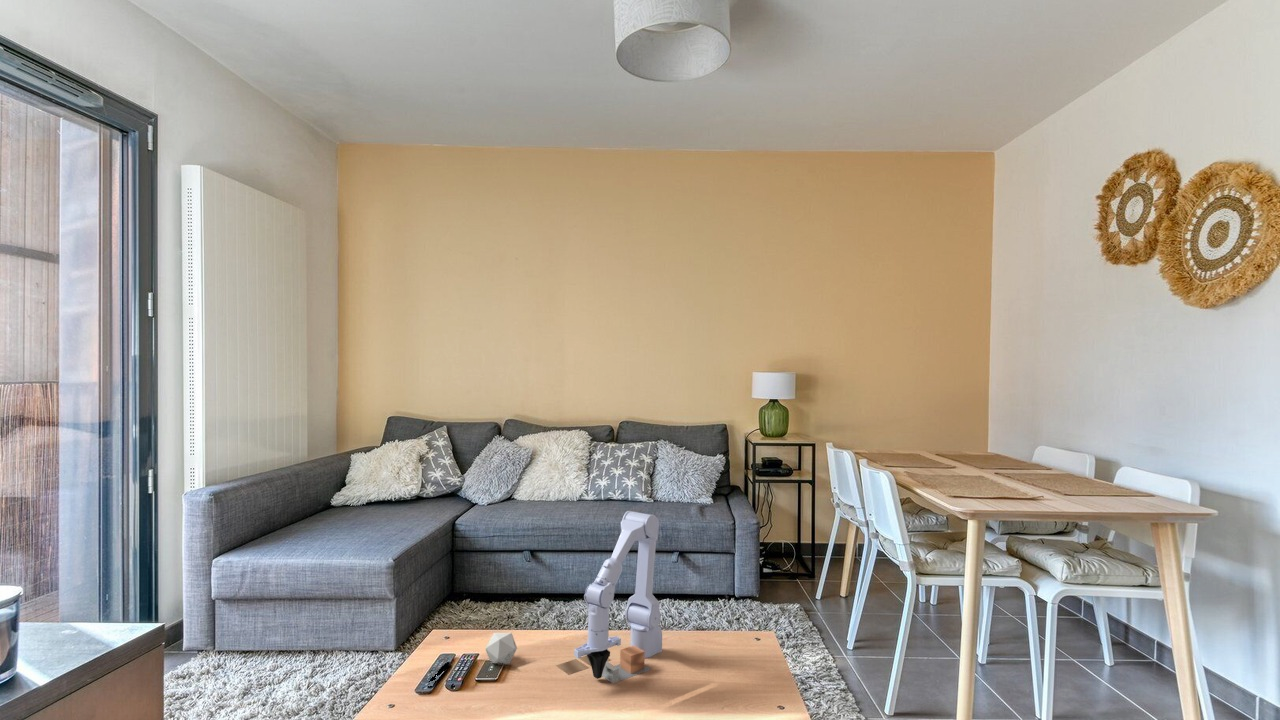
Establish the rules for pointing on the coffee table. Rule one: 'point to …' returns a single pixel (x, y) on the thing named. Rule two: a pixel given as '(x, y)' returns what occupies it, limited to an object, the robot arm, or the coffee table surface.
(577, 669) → the broken strip
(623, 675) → the grey tray
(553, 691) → the coffee table surface
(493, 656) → the die
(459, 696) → the coffee table surface
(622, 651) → the cube
